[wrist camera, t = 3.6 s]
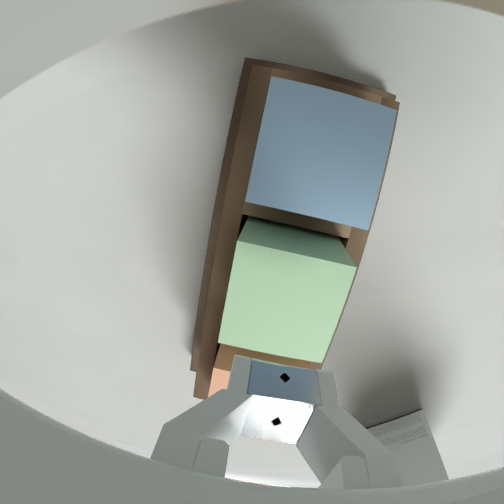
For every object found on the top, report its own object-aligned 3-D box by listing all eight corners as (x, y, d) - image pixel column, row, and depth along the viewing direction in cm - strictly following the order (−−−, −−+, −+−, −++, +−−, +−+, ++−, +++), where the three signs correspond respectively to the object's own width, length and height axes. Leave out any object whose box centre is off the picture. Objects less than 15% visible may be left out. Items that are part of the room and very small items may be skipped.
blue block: (364, 120, 15) (396, 110, 10) (344, 208, 17) (368, 230, 12) (274, 97, 15) (271, 76, 11) (255, 187, 17) (245, 201, 12)
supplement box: (342, 433, 28) (357, 557, 14) (422, 406, 27) (465, 521, 12) (354, 470, 31) (366, 571, 16) (422, 448, 29) (451, 544, 15)
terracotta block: (306, 334, 19) (311, 386, 15) (286, 390, 21) (285, 443, 16) (228, 318, 20) (213, 367, 15) (217, 376, 21) (202, 427, 16)
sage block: (337, 235, 17) (357, 267, 13) (313, 313, 19) (321, 363, 14) (249, 215, 17) (237, 240, 13) (232, 295, 19) (217, 342, 14)
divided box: (388, 98, 19) (423, 83, 13) (305, 382, 26) (308, 432, 21) (247, 63, 19) (235, 34, 13) (194, 359, 26) (175, 406, 21)
